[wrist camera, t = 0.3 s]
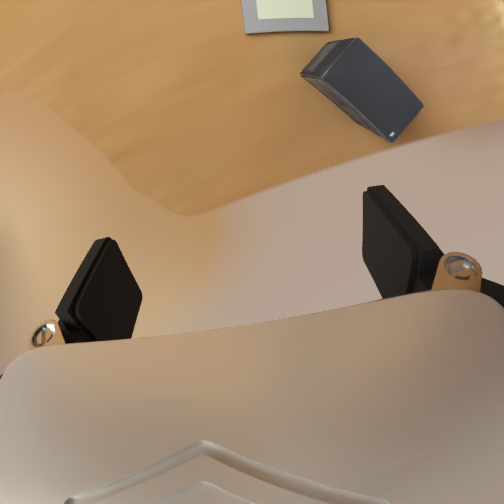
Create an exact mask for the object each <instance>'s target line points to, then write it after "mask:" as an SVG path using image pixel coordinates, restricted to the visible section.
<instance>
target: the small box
mask: <svg viewBox="0 0 504 504" xmlns="http://www.w3.org/2000/svg"><path fill="white" fill-rule="evenodd" d="M300 75H301V76H302V77H303V78H304V79H306V80H307V81H308V82H309V83H311V84H312V85H313V86H314V87H316V88H317V89H318V90H319V91H320V92H322V93H323V94H324V95H325V96H327V97H328V98H329V99H330V100H331V101H332V102H334V103H335V104H336V105H337V106H338V107H339V108H341V109H342V110H343V111H344V112H345V113H346V114H347V115H349V116H350V117H351V118H352V119H353V120H354V121H355V122H356V123H357V124H360V125H361V126H364V127H366V128H367V129H369V130H371V131H373V132H374V133H375V134H377V135H379V136H380V137H382V138H384V139H385V140H387V141H388V142H390V143H394V141H395V140H396V139H397V138H398V137H399V135H400V134H401V133H402V132H403V131H404V130H405V128H406V127H407V126H408V125H409V124H410V123H411V121H412V120H413V119H414V118H415V117H416V115H417V114H418V113H419V112H420V111H421V109H422V108H423V107H424V105H423V104H422V103H421V101H420V100H419V99H418V98H417V97H416V96H415V94H414V93H413V92H412V91H411V90H410V89H409V88H408V87H407V85H406V84H405V83H404V82H403V81H402V80H401V79H400V78H399V77H398V76H397V75H396V74H395V73H394V72H393V71H392V69H391V68H390V67H389V66H388V65H387V64H386V63H385V62H384V61H383V60H382V59H381V58H380V57H379V56H378V55H377V54H376V53H374V52H373V51H372V50H371V49H370V48H369V47H368V46H367V45H366V44H365V43H364V42H363V41H362V40H361V39H360V38H358V37H356V38H350V39H345V40H339V41H333V42H328V43H327V44H326V45H325V46H324V47H323V48H322V49H321V50H320V51H319V52H318V53H317V55H316V56H315V57H314V58H313V59H312V60H311V61H310V63H309V64H308V65H307V66H306V67H305V68H304V69H303V71H302V72H301V73H300Z"/></svg>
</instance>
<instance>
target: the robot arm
mask: <svg viewBox="0 0 504 504" xmlns="http://www.w3.org/2000/svg"><path fill="white" fill-rule="evenodd" d="M362 254H363V259H364V262H365V264H366V266H367V268H368V270H369V272H370V274H371V276H372V278H373V280H374V282H375V284H376V286H377V288H378V290H379V292H380V294H381V296H382V298H383V299H380V300H376V301H371V302H367V303H362V304H357V305H353V306H348V307H343V308H338V309H333V310H328V311H323V312H317V313H312V314H307V315H301V316H296V317H290V318H284V319H278V320H272V321H266V322H260V323H253V324H247V325H240V326H234V327H226V328H219V329H212V330H204V331H197V332H188V333H180V334H171V335H163V336H153V337H143V338H132V339H131V337H132V333H133V330H134V325H135V322H136V319H137V315H138V312H139V309H140V305H141V302H142V292H141V290H140V288H139V286H138V284H137V282H136V281H135V279H134V277H133V275H132V273H131V271H130V269H129V267H128V265H127V263H126V261H125V259H124V257H123V255H122V253H121V251H120V249H119V247H118V244H117V242H116V241H115V240H112V239H111V238H110V237H106V238H103V239H99V240H96V241H95V242H94V243H93V245H92V247H91V248H90V250H89V252H88V253H87V255H86V257H85V258H84V260H83V262H82V264H81V265H80V267H79V269H78V270H77V272H76V274H75V276H74V278H73V279H72V281H71V283H70V285H69V287H68V288H67V290H66V292H65V294H64V296H63V298H62V300H61V302H60V304H59V306H58V308H57V309H56V312H55V313H56V315H57V316H58V317H59V321H58V323H57V321H55V320H47V321H44V322H43V323H41V324H40V325H38V326H37V327H36V328H35V329H34V331H33V332H32V334H31V335H30V338H29V349H30V351H29V352H26V353H25V354H22V355H20V356H19V357H17V358H16V359H14V360H13V361H12V362H11V363H10V364H9V365H8V367H7V369H6V370H5V372H4V374H2V375H1V376H0V504H504V286H503V285H500V284H498V283H495V282H492V281H489V280H487V279H484V278H482V269H481V266H480V264H479V263H478V262H477V261H476V260H475V259H474V258H472V257H471V256H469V255H467V254H464V253H459V252H451V253H447V254H445V255H444V254H443V252H442V251H441V250H440V249H439V247H438V246H437V244H436V243H435V242H434V241H433V239H432V238H431V237H430V236H429V235H428V233H427V232H426V231H425V230H424V229H423V228H422V227H421V225H420V224H419V223H418V222H417V221H416V220H415V218H414V217H413V216H412V215H411V214H410V213H409V212H408V211H407V210H406V208H405V207H404V206H403V205H402V204H401V203H400V202H399V201H398V200H397V199H396V198H395V197H394V195H393V194H392V193H391V192H389V190H388V189H387V188H386V187H385V186H384V185H379V186H372V187H368V188H367V191H365V192H363V245H362Z"/></svg>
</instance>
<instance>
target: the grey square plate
mask: <svg viewBox="0 0 504 504" xmlns="http://www.w3.org/2000/svg"><path fill="white" fill-rule="evenodd" d="M241 4H242V12H243V20H244V28H245V34H254V33H267V32H289V31H329V27H328V17H327V8H326V0H241Z"/></svg>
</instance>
